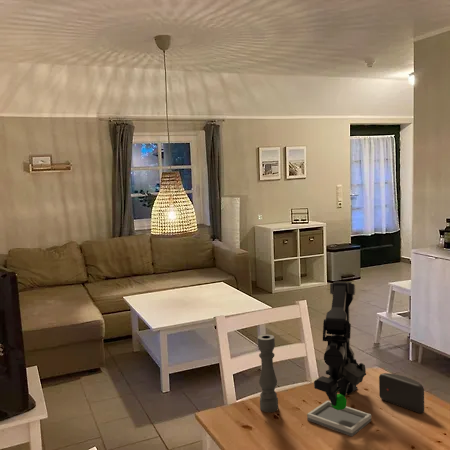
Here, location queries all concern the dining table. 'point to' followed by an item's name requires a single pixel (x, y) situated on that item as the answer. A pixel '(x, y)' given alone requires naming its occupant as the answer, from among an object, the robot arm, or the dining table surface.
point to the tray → (339, 418)
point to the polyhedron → (340, 402)
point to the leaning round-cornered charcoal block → (402, 391)
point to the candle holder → (267, 374)
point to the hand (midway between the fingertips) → (338, 402)
